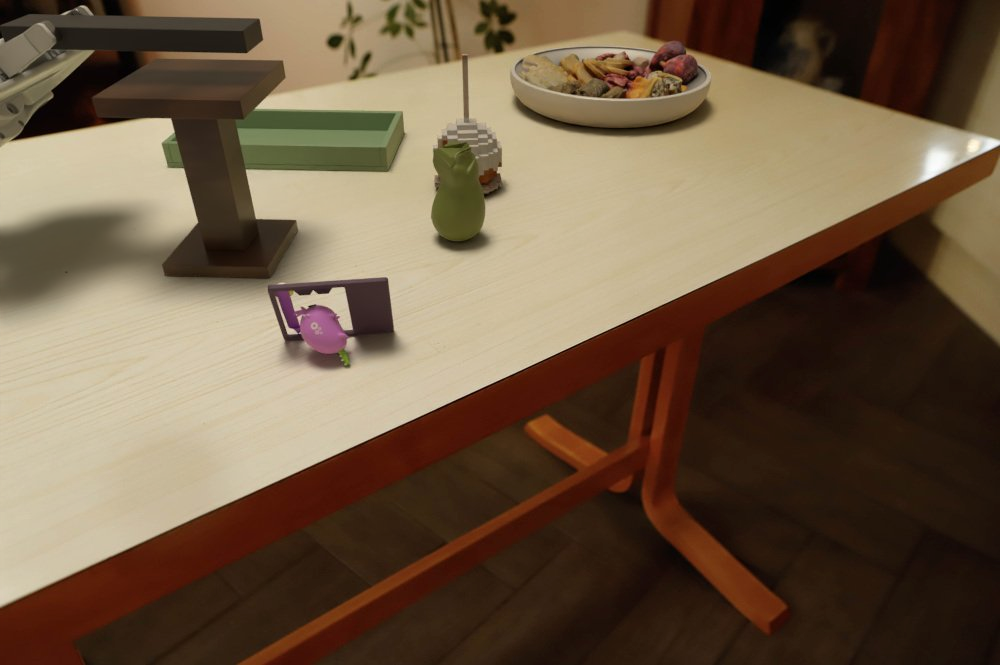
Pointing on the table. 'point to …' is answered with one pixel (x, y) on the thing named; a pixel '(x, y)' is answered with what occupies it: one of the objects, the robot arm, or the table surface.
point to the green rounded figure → (457, 193)
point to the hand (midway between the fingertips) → (70, 22)
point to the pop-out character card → (322, 323)
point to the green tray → (313, 140)
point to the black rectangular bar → (145, 33)
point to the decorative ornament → (474, 141)
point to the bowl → (611, 84)
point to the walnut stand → (209, 157)
